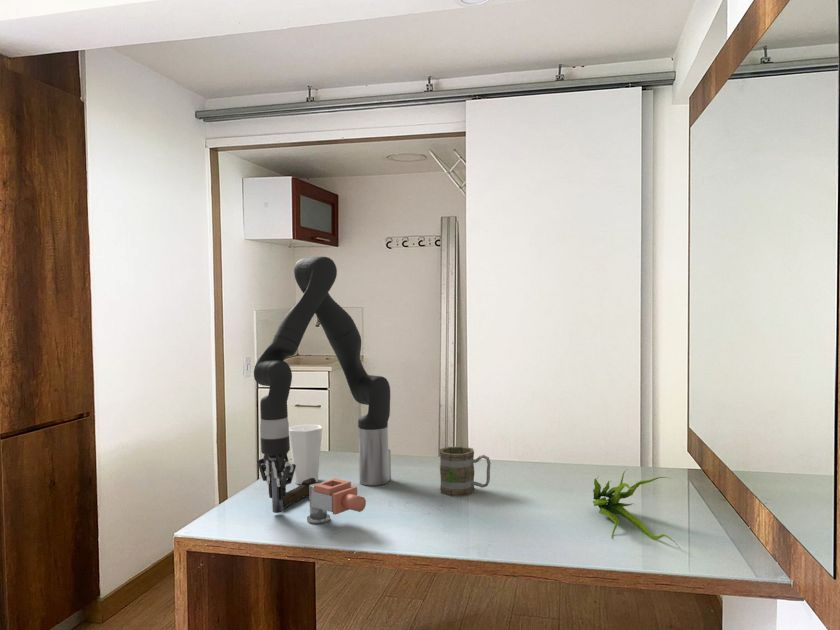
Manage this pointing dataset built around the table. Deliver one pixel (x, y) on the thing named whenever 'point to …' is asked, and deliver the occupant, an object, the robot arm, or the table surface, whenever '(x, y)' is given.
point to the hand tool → (298, 492)
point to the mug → (459, 471)
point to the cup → (305, 451)
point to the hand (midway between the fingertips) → (277, 498)
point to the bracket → (341, 495)
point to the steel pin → (275, 490)
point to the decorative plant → (620, 504)
